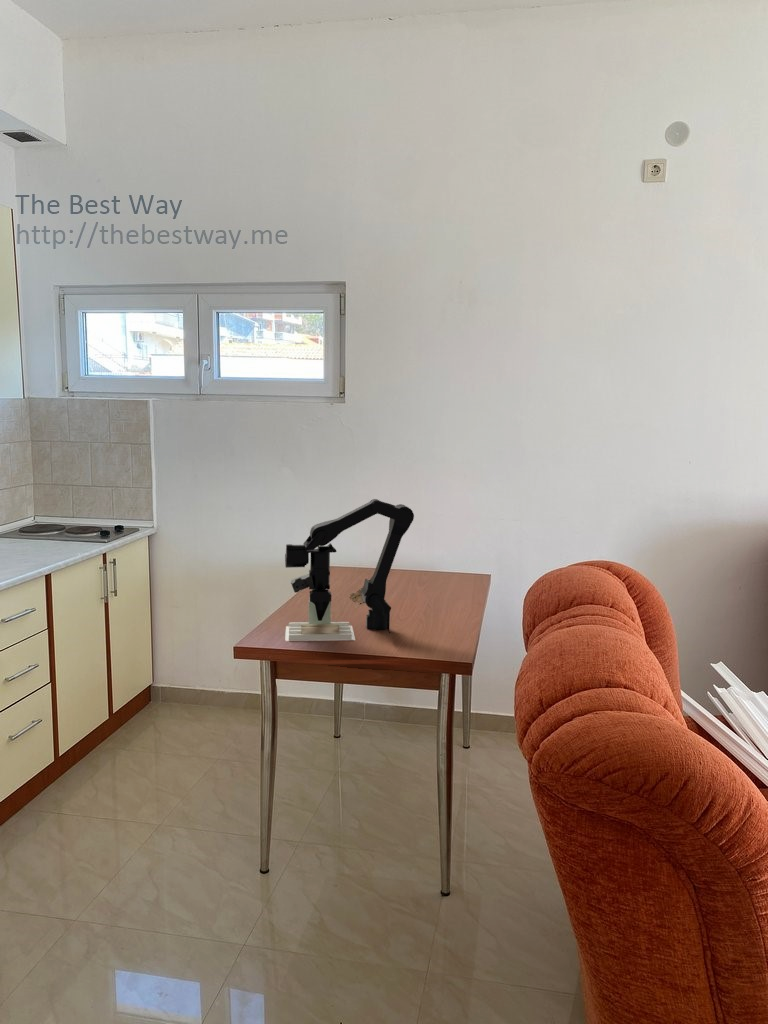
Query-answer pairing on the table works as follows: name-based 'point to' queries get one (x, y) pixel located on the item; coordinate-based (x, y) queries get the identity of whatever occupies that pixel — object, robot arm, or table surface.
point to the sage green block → (313, 615)
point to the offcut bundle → (320, 629)
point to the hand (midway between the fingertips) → (319, 618)
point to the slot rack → (295, 634)
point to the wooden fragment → (357, 596)
